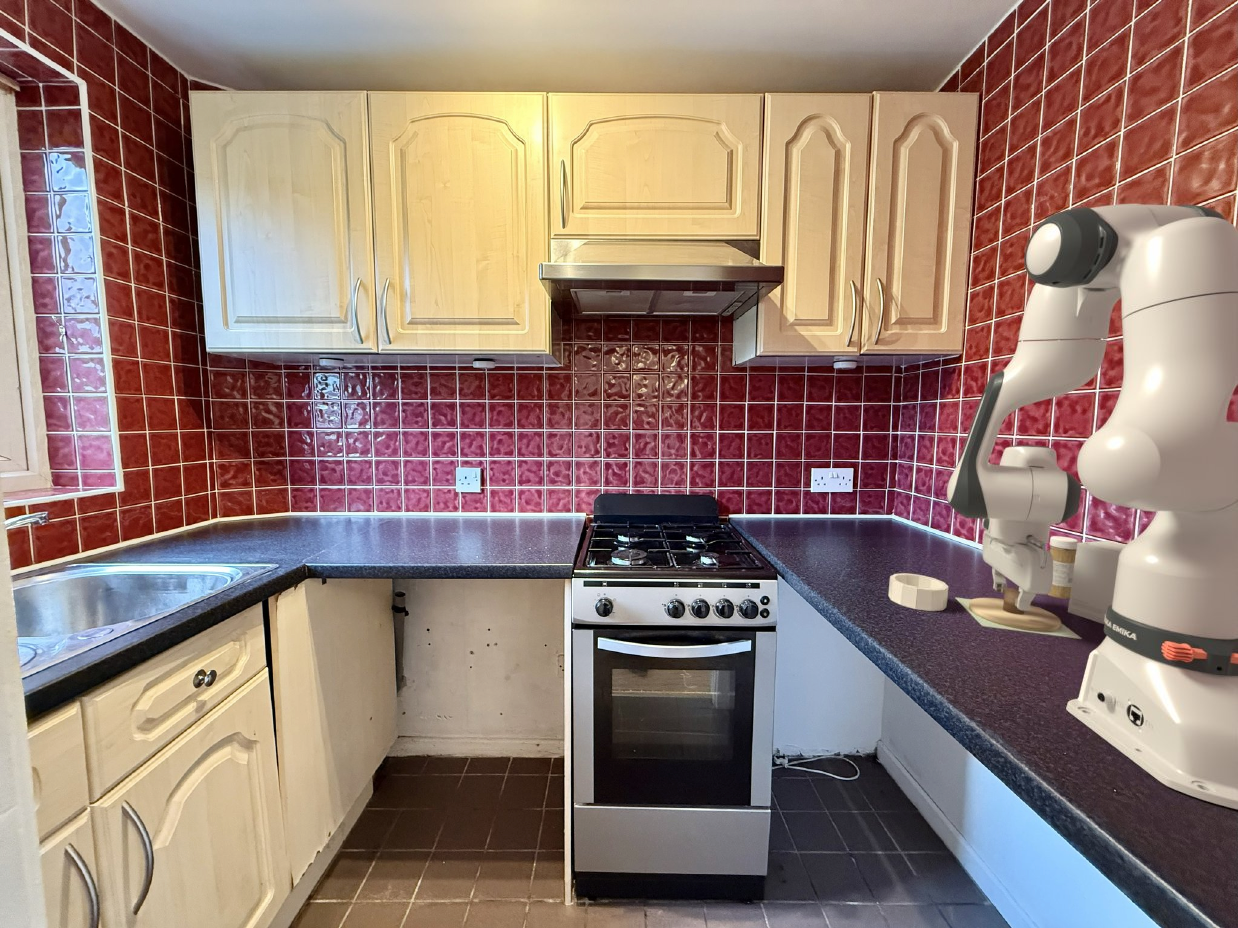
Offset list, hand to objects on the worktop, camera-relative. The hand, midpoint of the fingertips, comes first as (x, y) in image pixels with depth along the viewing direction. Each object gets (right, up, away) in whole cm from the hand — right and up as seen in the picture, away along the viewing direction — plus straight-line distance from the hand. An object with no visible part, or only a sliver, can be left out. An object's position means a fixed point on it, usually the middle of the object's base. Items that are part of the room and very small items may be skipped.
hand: (1010, 599), depth 98 cm
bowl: (-14, -3, +6) cm, 16 cm away
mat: (0, -4, 0) cm, 4 cm away
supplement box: (+19, -5, 0) cm, 20 cm away
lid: (0, -3, 0) cm, 3 cm away
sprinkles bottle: (+20, -3, +13) cm, 24 cm away
